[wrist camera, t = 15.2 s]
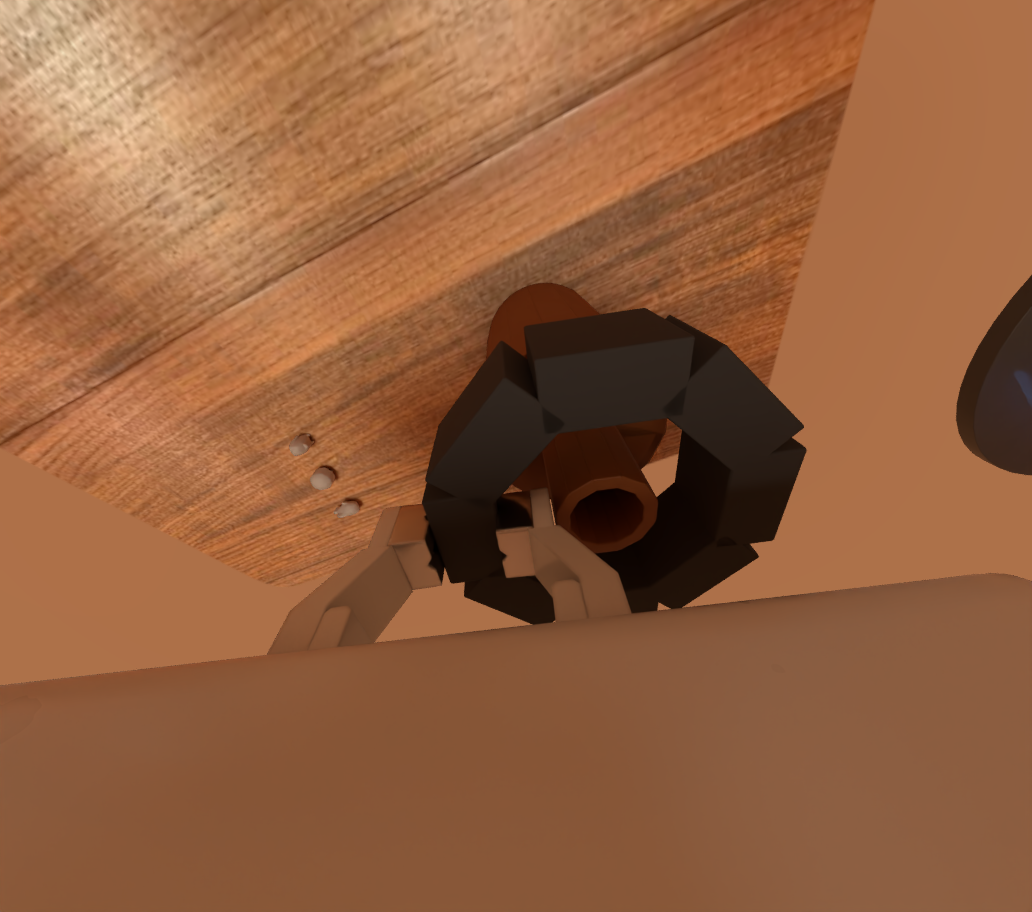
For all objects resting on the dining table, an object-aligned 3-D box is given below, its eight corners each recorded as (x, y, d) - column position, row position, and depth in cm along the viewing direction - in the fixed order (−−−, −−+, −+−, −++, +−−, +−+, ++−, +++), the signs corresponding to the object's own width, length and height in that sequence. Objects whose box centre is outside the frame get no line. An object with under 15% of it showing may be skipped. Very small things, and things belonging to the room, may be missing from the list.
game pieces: (364, 507, 31) (357, 523, 30) (342, 512, 32) (333, 528, 30) (316, 428, 27) (304, 441, 25) (290, 434, 27) (277, 447, 26)
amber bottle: (596, 274, 22) (772, 376, 8) (597, 385, 26) (716, 585, 12) (479, 292, 22) (448, 420, 8) (497, 398, 26) (498, 610, 12)
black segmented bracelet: (768, 288, 9) (859, 312, 7) (709, 544, 15) (750, 606, 12) (404, 343, 10) (377, 383, 7) (474, 577, 15) (471, 643, 13)
